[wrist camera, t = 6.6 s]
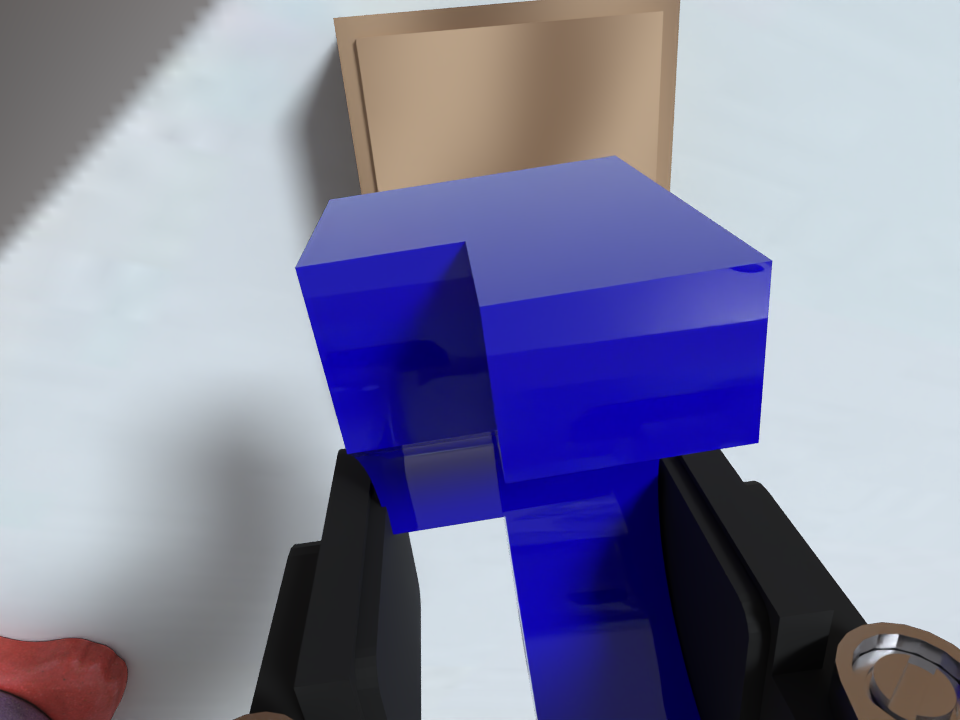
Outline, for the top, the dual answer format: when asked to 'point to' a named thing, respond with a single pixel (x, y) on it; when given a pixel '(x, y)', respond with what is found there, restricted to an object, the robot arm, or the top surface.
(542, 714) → the cable holder
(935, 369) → the top surface
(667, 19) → the plinth
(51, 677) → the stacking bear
